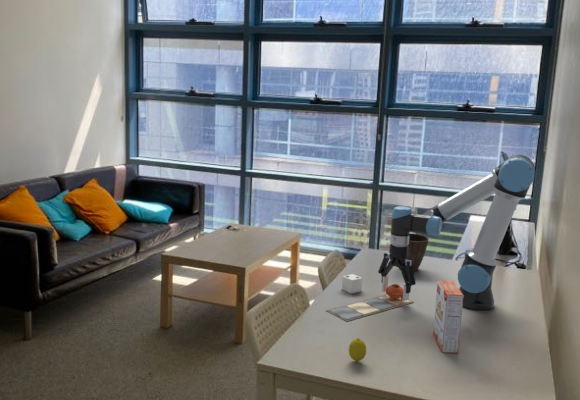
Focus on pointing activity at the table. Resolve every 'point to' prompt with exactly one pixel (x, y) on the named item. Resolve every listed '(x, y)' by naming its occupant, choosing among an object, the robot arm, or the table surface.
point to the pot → (395, 291)
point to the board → (367, 307)
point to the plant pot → (416, 249)
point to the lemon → (357, 349)
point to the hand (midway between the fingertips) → (394, 295)
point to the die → (352, 283)
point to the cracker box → (448, 316)
